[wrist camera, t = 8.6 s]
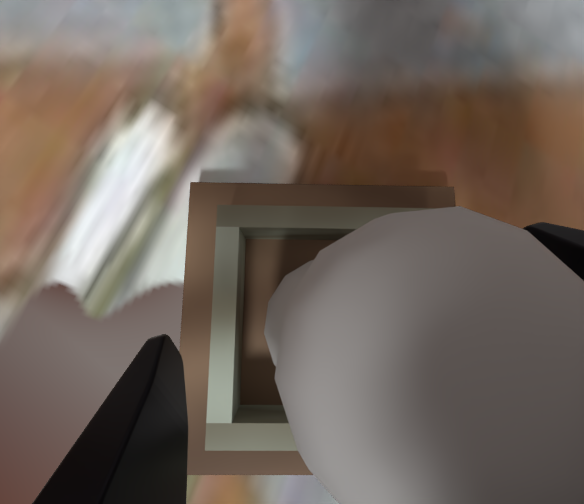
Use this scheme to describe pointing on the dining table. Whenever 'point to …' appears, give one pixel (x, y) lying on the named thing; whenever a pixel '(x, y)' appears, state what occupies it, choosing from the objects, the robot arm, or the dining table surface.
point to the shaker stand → (257, 306)
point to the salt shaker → (434, 363)
